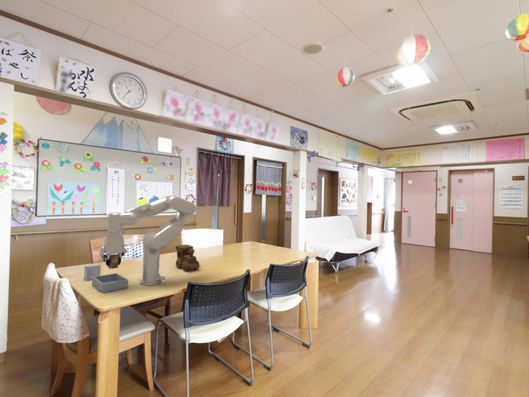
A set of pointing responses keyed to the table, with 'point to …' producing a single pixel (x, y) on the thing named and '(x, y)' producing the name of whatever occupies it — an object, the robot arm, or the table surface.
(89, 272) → the medicine box
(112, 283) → the tote
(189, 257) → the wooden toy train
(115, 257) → the walnut cylinder
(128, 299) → the table surface
